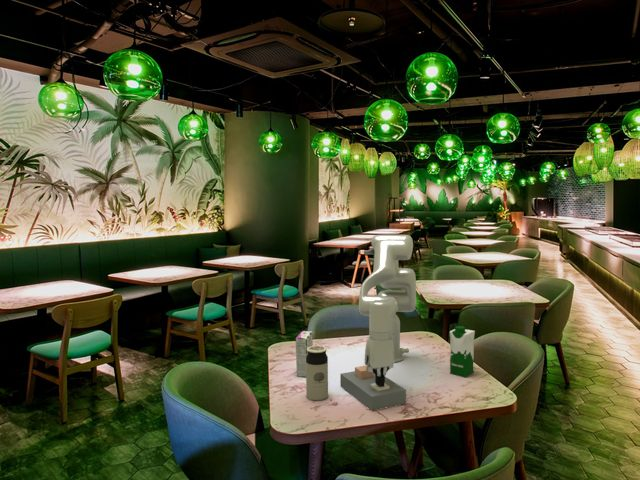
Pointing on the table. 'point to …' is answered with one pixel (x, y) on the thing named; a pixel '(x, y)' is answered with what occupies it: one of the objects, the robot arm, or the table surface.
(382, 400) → the gray socket board
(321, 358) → the travel mug
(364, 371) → the terracotta key
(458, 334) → the milk carton
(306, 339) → the candy bar box
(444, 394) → the table surface
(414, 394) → the table surface
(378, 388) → the cream cube
